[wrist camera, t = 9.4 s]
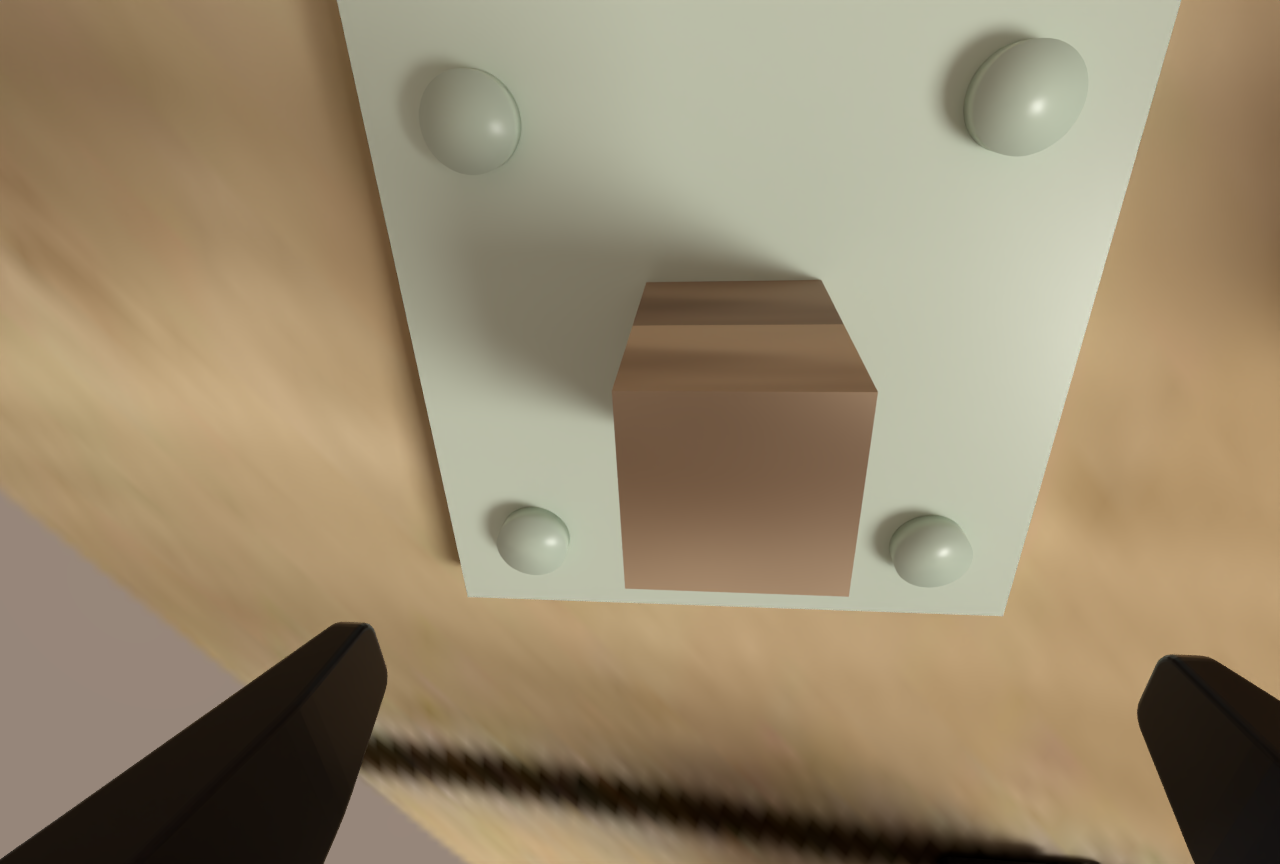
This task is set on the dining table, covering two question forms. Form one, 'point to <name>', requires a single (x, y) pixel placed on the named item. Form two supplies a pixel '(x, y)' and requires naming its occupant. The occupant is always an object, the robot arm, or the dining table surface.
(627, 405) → the brown rectangular block
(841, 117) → the baseplate
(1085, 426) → the dining table surface
